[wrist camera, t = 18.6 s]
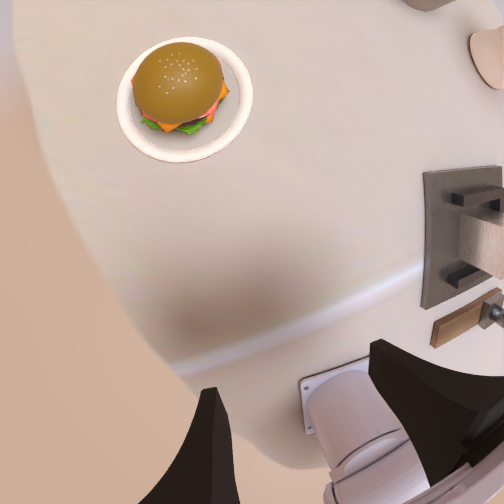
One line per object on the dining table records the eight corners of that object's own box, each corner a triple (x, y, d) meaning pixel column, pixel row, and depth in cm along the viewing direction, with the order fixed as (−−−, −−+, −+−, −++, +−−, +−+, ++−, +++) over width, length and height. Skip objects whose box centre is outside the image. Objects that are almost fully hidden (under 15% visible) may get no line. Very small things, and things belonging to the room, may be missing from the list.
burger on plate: (231, 210, 20) (241, 228, 14) (77, 155, 17) (37, 155, 11) (297, 61, 17) (327, 34, 12) (146, 10, 14) (133, -28, 9)
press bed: (491, 272, 26) (503, 279, 24) (420, 306, 25) (434, 317, 22) (496, 165, 22) (511, 168, 19) (423, 172, 20) (441, 175, 18)
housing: (481, 248, 23) (527, 269, 17) (457, 257, 23) (507, 283, 16) (484, 207, 22) (533, 222, 15) (460, 213, 21) (514, 231, 15)
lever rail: (492, 307, 28) (497, 310, 27) (430, 344, 27) (435, 348, 26) (497, 287, 27) (502, 290, 26) (434, 321, 26) (439, 326, 25)
